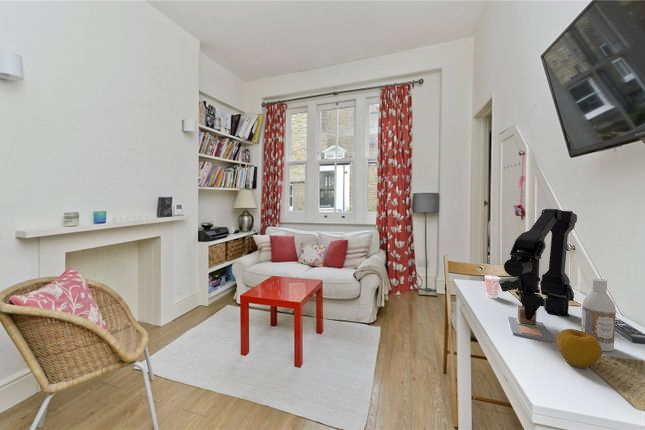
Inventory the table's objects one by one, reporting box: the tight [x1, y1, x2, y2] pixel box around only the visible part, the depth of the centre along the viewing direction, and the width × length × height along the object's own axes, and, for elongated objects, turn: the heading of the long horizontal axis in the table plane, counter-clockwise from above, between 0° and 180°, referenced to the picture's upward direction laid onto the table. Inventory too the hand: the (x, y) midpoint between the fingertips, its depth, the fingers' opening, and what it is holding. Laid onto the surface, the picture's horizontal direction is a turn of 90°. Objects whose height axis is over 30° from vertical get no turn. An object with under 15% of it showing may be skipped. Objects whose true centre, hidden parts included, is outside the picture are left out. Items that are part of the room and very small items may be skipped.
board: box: [507, 316, 554, 343], centre depth 91 cm, size 10×14×1 cm
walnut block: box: [517, 305, 537, 325], centre depth 94 cm, size 4×4×4 cm
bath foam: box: [580, 278, 617, 352], centre depth 80 cm, size 7×7×20 cm
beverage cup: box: [483, 265, 501, 299], centre depth 123 cm, size 6×6×14 cm
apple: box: [556, 328, 603, 369], centre depth 72 cm, size 8×8×9 cm
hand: (526, 316), depth 94 cm, fingers open, 5 cm apart
